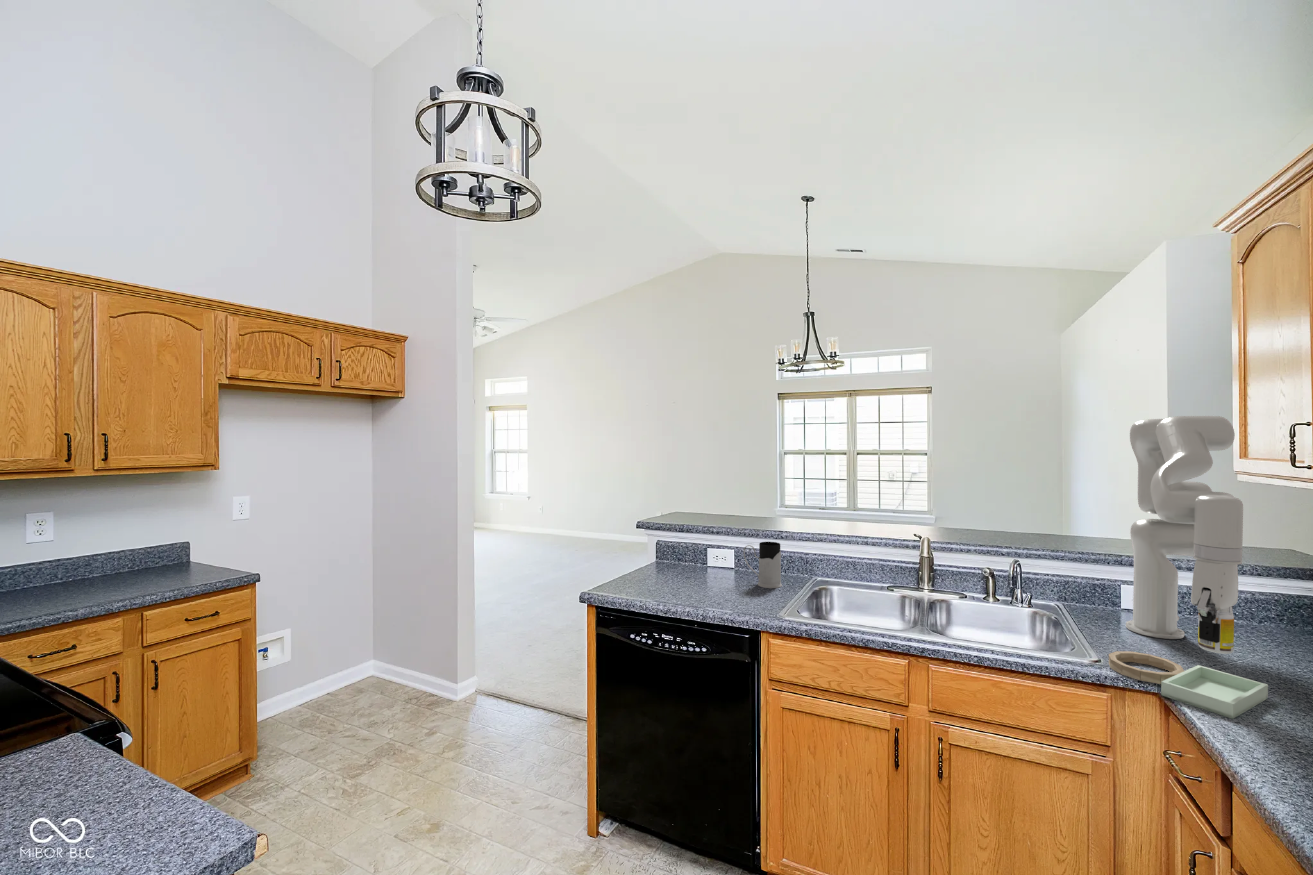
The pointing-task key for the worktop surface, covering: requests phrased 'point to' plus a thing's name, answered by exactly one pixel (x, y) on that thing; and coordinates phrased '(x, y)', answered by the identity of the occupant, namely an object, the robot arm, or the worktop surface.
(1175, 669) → the collar
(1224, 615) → the supplement bottle
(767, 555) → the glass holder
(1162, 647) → the worktop surface
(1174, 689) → the tray
